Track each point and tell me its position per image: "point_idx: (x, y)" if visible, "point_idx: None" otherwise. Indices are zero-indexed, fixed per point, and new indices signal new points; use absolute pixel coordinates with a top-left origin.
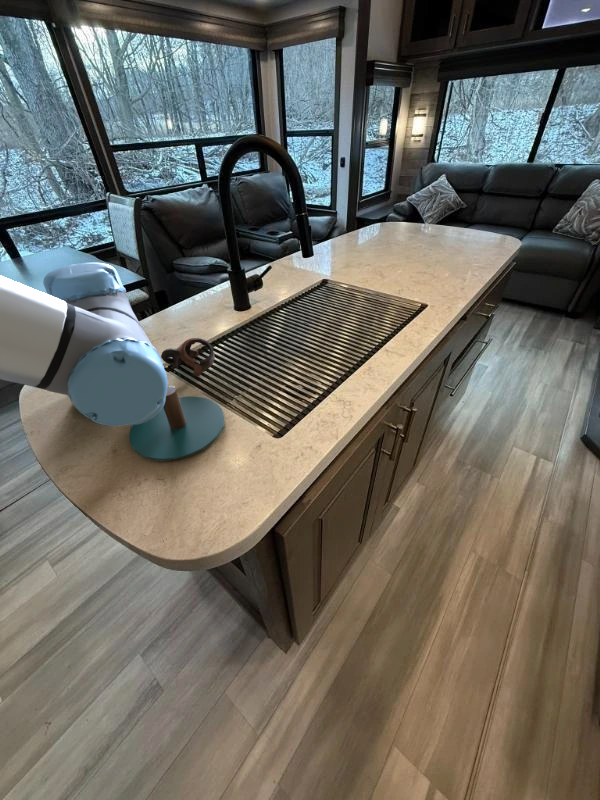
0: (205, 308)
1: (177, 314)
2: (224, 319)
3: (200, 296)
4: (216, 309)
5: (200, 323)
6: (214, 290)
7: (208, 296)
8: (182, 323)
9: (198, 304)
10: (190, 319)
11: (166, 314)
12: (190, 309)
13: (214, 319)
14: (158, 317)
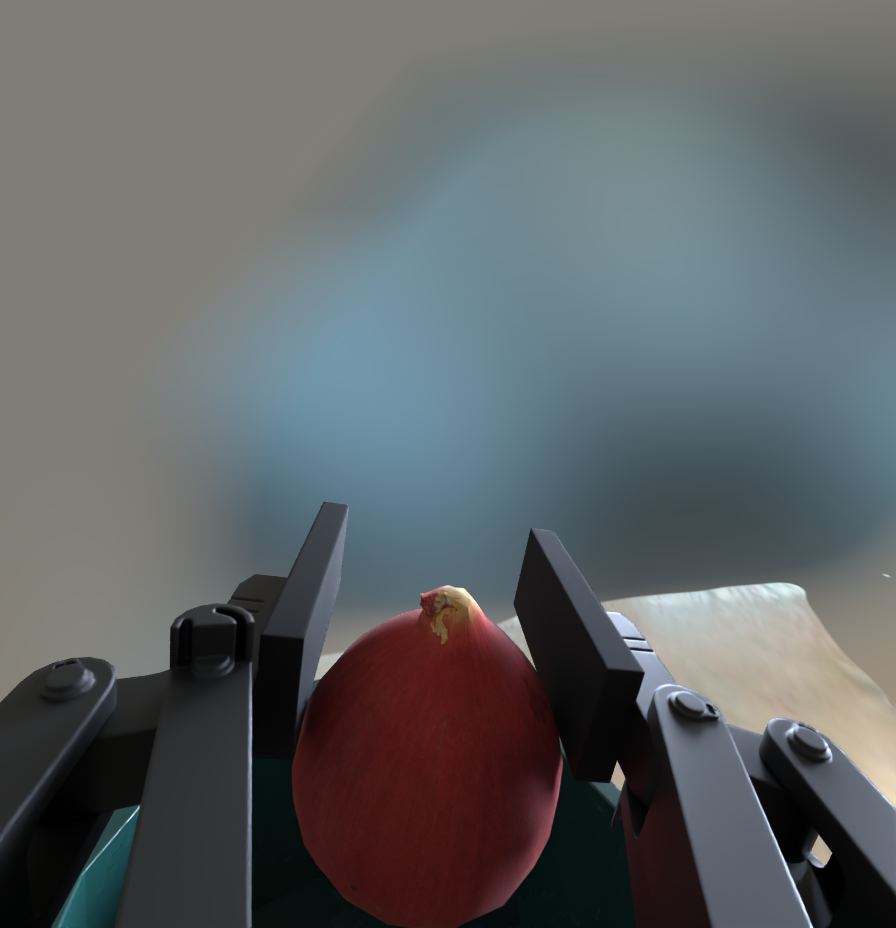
0: (766, 646)
1: (669, 627)
2: (882, 747)
3: (729, 590)
4: (813, 671)
5: (774, 716)
6: (768, 587)
7: (757, 601)
8: (697, 679)
9: (733, 618)
10: (724, 673)
11: (633, 610)
12: (710, 626)
13: (831, 723)
14: (608, 611)
